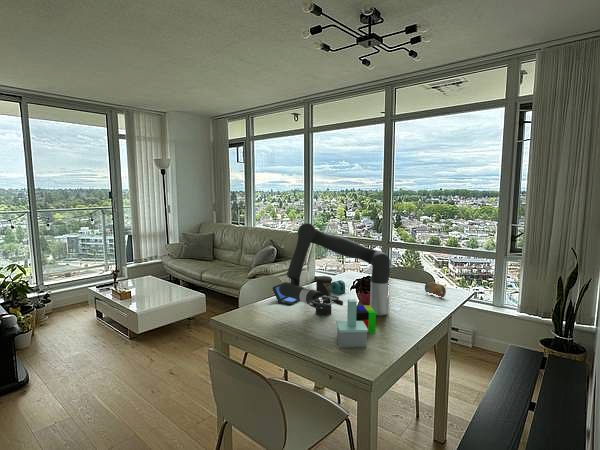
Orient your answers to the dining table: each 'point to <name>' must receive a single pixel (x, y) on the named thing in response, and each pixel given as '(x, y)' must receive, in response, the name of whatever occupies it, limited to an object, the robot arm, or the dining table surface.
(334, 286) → the teal rounded piece
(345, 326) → the lid
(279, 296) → the handheld game console
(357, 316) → the puzzle toy
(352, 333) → the tub
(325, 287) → the container
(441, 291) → the wooden scrub brush
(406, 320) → the dining table surface
